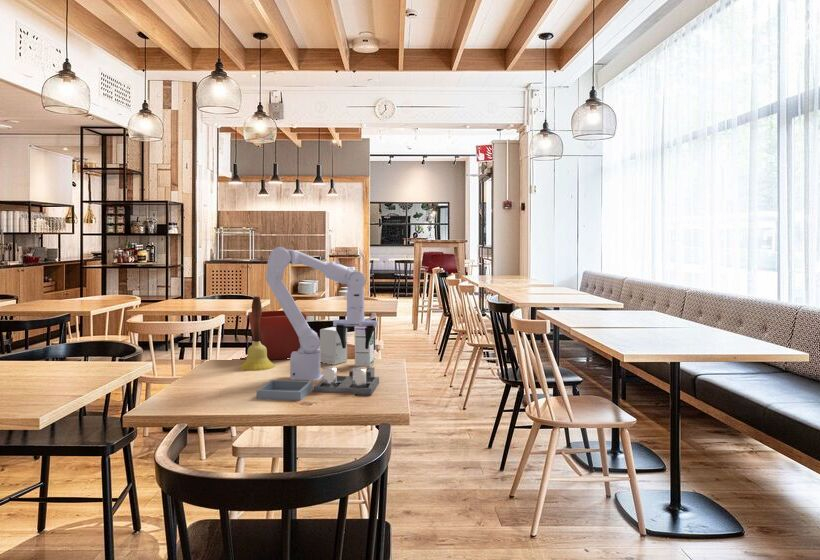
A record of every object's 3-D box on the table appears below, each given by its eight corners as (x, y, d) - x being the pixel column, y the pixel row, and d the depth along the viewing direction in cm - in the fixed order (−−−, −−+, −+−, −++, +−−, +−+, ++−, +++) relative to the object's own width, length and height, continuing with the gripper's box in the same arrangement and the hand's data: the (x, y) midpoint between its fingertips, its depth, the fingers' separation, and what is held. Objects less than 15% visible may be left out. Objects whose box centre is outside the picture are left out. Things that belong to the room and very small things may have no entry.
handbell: (278, 363, 220) (277, 295, 219) (271, 370, 208) (270, 298, 206) (244, 363, 220) (243, 295, 218) (235, 370, 208) (234, 298, 206)
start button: (356, 378, 196) (356, 369, 195) (358, 375, 199) (358, 366, 199) (366, 378, 195) (365, 369, 195) (367, 376, 198) (367, 367, 198)
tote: (256, 401, 170) (256, 390, 169) (271, 389, 182) (271, 380, 182) (300, 402, 168) (300, 391, 168) (312, 391, 181) (312, 381, 181)
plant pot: (248, 354, 238) (247, 311, 237) (296, 350, 245) (296, 309, 244) (256, 363, 220) (255, 317, 219) (307, 359, 228) (307, 315, 227)
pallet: (314, 393, 178) (314, 386, 178) (326, 381, 193) (326, 375, 193) (371, 395, 176) (371, 388, 176) (379, 383, 191) (379, 377, 191)
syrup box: (370, 367, 215) (370, 326, 214) (354, 366, 216) (354, 326, 215) (374, 363, 220) (374, 324, 219) (358, 363, 222) (358, 323, 221)
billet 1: (322, 392, 179) (321, 369, 179) (325, 389, 183) (325, 366, 183) (335, 393, 179) (335, 369, 178) (338, 389, 183) (338, 366, 182)
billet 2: (357, 394, 177) (357, 371, 176) (349, 392, 180) (350, 368, 179) (368, 392, 179) (368, 369, 179) (361, 390, 182) (361, 367, 182)
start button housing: (349, 380, 194) (349, 371, 194) (353, 375, 201) (353, 367, 201) (370, 381, 193) (370, 372, 193) (374, 376, 200) (374, 367, 200)
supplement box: (335, 365, 217) (335, 330, 216) (319, 363, 221) (319, 328, 220) (347, 361, 224) (347, 328, 223) (332, 359, 228) (332, 326, 227)
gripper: (379, 306, 202) (379, 346, 203) (336, 305, 203) (336, 345, 204) (375, 308, 195) (375, 350, 196) (331, 307, 196) (331, 349, 197)
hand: (355, 348), depth 200 cm, fingers open, 7 cm apart
